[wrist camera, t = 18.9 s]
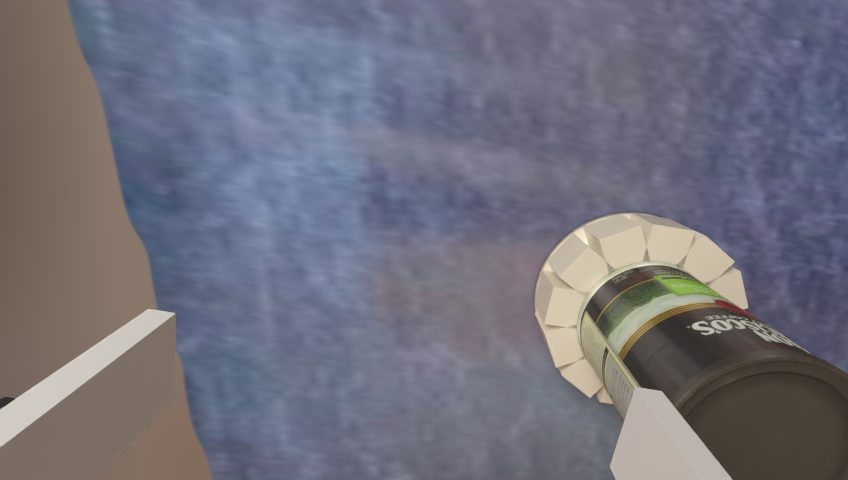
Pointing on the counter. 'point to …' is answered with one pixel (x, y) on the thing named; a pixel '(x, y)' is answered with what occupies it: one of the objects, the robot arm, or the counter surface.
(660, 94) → the counter surface
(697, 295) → the coffee can
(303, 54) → the counter surface
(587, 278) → the cream cog ring
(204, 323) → the counter surface
